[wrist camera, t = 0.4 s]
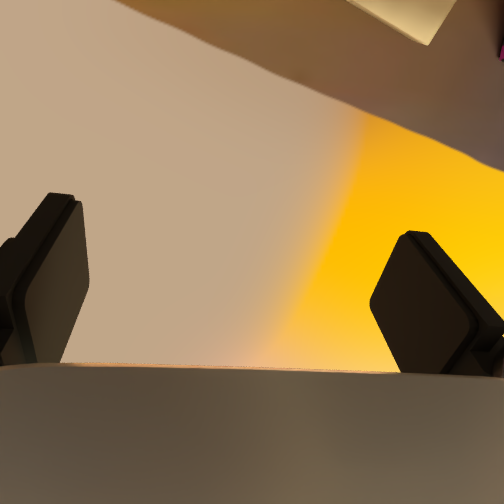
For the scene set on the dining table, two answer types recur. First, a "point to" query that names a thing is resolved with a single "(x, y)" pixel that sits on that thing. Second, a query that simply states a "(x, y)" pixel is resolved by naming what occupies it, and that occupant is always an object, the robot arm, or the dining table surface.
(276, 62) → the dining table surface
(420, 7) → the keypad base
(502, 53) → the candy bar box
